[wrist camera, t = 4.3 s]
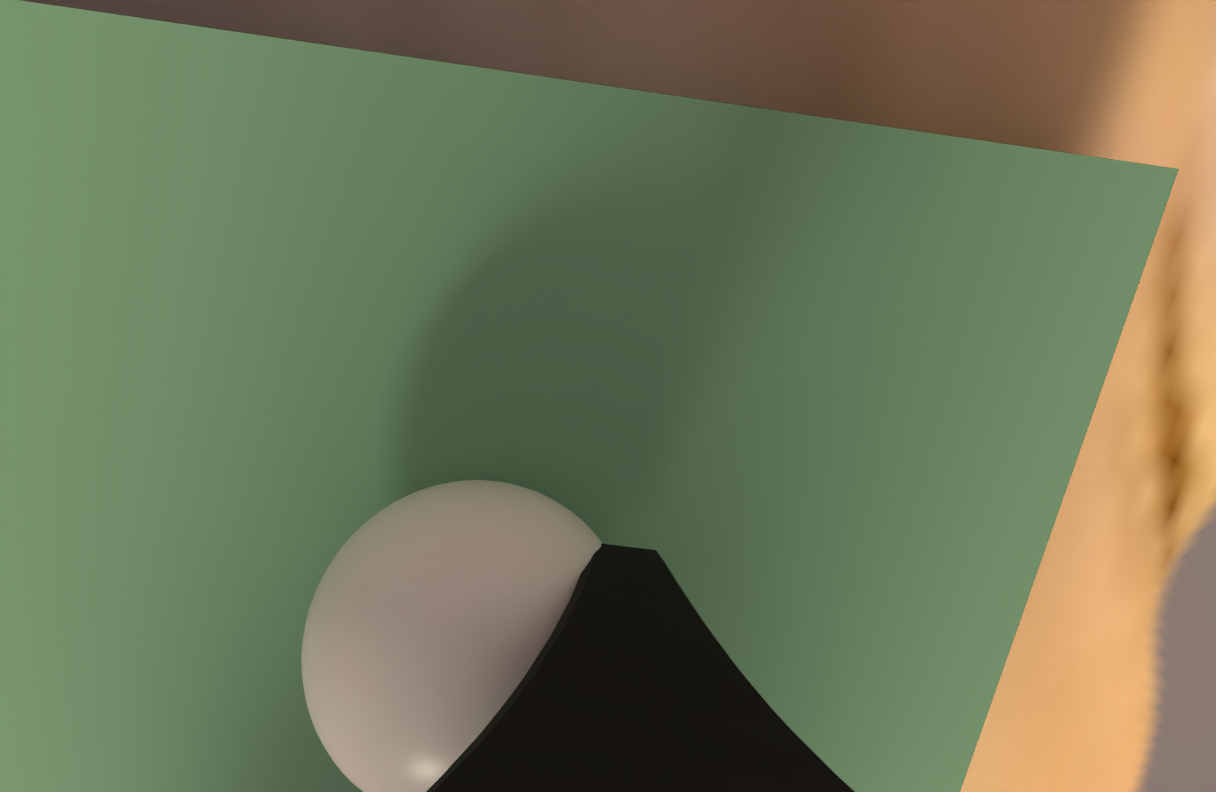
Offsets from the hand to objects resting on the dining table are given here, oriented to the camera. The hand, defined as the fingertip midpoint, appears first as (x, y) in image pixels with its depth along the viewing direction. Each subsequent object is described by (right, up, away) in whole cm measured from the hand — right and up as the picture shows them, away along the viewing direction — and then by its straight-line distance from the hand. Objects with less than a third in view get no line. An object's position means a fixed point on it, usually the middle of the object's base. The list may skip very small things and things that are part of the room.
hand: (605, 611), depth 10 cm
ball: (-2, 0, 0) cm, 2 cm away
